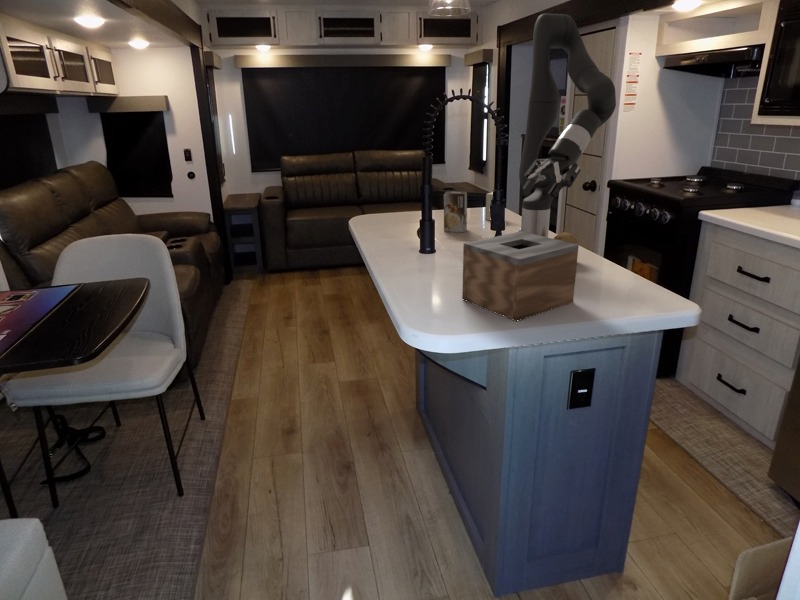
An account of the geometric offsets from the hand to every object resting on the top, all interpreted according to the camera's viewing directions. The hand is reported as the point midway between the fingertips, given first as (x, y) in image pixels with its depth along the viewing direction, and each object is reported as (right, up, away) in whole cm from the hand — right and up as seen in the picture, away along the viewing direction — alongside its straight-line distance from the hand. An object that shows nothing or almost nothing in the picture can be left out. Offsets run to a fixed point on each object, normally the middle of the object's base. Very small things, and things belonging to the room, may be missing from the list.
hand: (537, 194), depth 140 cm
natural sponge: (+20, -15, +42) cm, 49 cm away
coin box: (-4, -28, +7) cm, 29 cm away
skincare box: (+7, +10, +109) cm, 109 cm away
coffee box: (-12, +2, +89) cm, 90 cm away
